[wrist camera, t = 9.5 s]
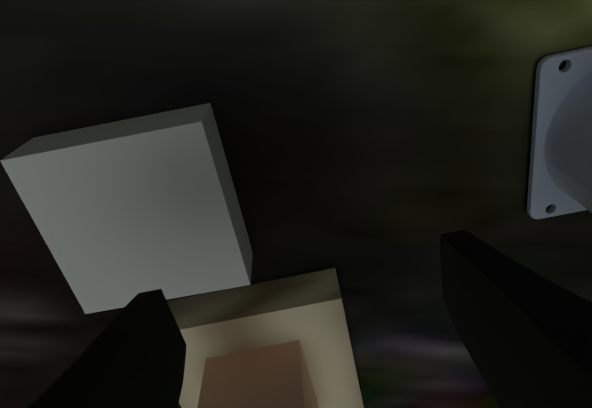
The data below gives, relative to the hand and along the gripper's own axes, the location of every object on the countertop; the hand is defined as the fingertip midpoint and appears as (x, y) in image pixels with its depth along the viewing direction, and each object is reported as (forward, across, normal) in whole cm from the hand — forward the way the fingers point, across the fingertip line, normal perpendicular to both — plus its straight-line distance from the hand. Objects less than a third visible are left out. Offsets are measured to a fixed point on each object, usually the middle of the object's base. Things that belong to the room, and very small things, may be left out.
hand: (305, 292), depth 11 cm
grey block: (+10, +7, +1) cm, 12 cm away
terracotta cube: (+8, +4, +12) cm, 15 cm away
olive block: (+10, +4, +12) cm, 17 cm away
